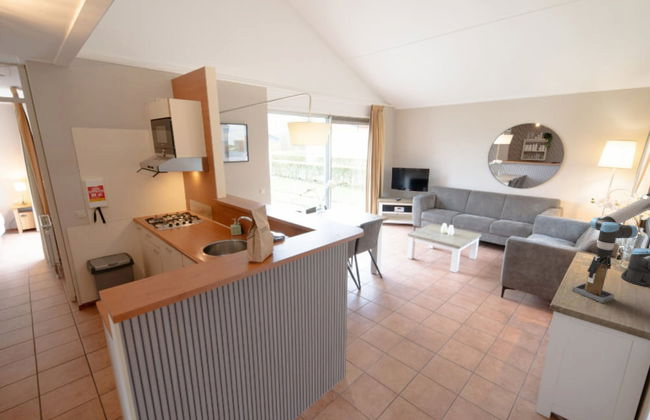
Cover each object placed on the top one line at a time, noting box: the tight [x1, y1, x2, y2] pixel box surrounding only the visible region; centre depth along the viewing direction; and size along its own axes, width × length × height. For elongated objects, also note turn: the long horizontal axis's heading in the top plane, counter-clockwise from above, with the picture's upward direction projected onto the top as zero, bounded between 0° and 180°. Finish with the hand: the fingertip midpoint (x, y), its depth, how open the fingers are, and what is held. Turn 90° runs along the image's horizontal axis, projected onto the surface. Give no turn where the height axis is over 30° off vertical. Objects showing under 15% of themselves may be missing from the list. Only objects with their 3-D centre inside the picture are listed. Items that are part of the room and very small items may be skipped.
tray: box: [571, 282, 615, 304], centre depth 183 cm, size 13×16×3 cm
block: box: [585, 264, 608, 297], centre depth 180 cm, size 11×8×20 cm
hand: (596, 280), depth 181 cm, fingers open, 13 cm apart
